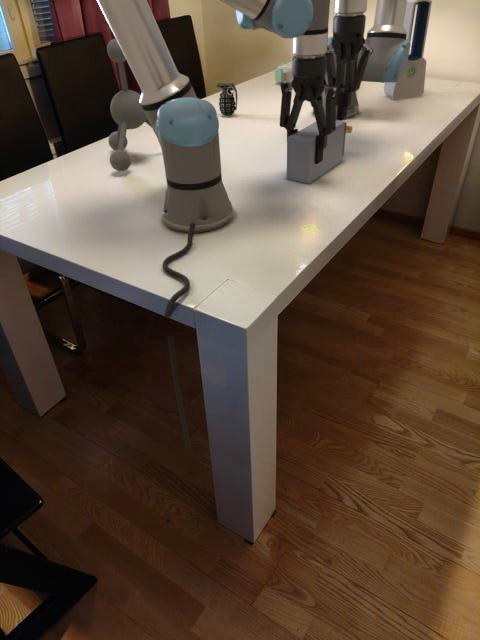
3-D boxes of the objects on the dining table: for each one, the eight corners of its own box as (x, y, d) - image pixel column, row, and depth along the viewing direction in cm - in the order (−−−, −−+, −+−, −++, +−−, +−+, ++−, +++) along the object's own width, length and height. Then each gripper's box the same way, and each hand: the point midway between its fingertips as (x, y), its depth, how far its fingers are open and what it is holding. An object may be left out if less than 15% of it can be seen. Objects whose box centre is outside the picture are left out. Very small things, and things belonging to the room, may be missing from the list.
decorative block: (298, 54, 217) (338, 57, 207) (297, 70, 220) (337, 74, 211) (266, 66, 200) (309, 70, 191) (266, 83, 204) (308, 87, 195)
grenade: (217, 117, 168) (214, 86, 162) (221, 112, 172) (219, 82, 166) (235, 117, 166) (233, 86, 160) (239, 113, 171) (238, 82, 165)
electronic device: (392, 100, 174) (405, 0, 156) (382, 95, 180) (394, -2, 162) (423, 96, 177) (440, -3, 158) (412, 91, 182) (427, -5, 164)
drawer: (335, 145, 137) (338, 114, 132) (352, 149, 135) (356, 116, 129) (295, 171, 124) (296, 137, 118) (313, 175, 121) (315, 140, 116)
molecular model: (194, 162, 134) (180, 38, 116) (114, 177, 128) (87, 49, 110) (171, 138, 152) (156, 27, 133) (100, 151, 146) (75, 36, 127)
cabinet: (320, 157, 133) (322, 118, 127) (341, 161, 130) (345, 121, 124) (286, 178, 122) (286, 137, 116) (309, 183, 119) (310, 141, 113)
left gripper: (358, 54, 104) (348, 161, 118) (281, 49, 113) (280, 148, 128) (342, 61, 99) (334, 171, 113) (263, 55, 109) (264, 157, 123)
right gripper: (382, 12, 113) (370, 118, 128) (332, 11, 120) (326, 112, 134) (369, 16, 109) (358, 126, 123) (317, 15, 115) (312, 119, 129)
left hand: (305, 159), depth 120 cm, fingers closed on cabinet, 6 cm apart
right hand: (341, 119), depth 129 cm, fingers closed
